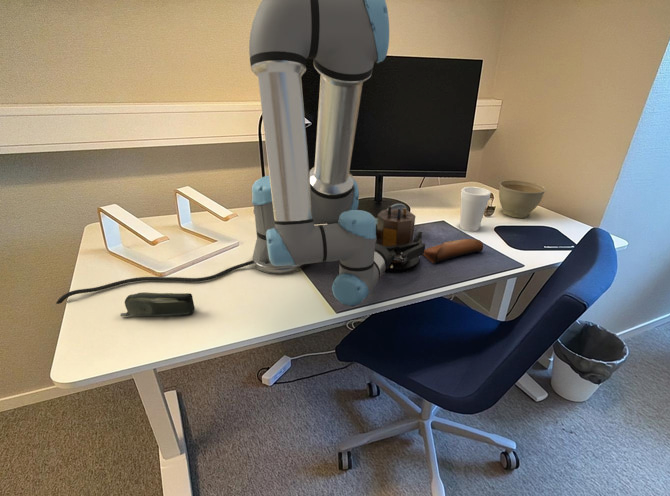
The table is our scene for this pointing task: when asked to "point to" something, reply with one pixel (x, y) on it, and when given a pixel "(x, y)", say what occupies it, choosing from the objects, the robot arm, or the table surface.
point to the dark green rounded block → (159, 304)
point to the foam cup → (473, 207)
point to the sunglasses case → (452, 249)
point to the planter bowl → (519, 197)
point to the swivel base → (403, 266)
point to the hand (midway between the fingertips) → (398, 232)
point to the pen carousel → (395, 227)
